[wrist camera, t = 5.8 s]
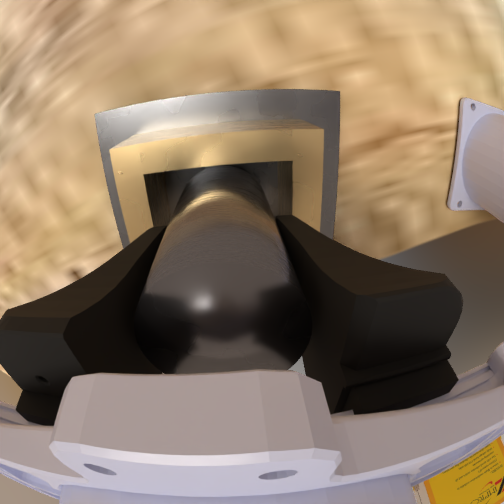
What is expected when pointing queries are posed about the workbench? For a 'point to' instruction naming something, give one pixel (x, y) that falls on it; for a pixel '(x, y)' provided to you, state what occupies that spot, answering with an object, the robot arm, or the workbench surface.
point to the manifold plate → (223, 152)
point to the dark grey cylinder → (222, 284)
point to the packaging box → (468, 480)
